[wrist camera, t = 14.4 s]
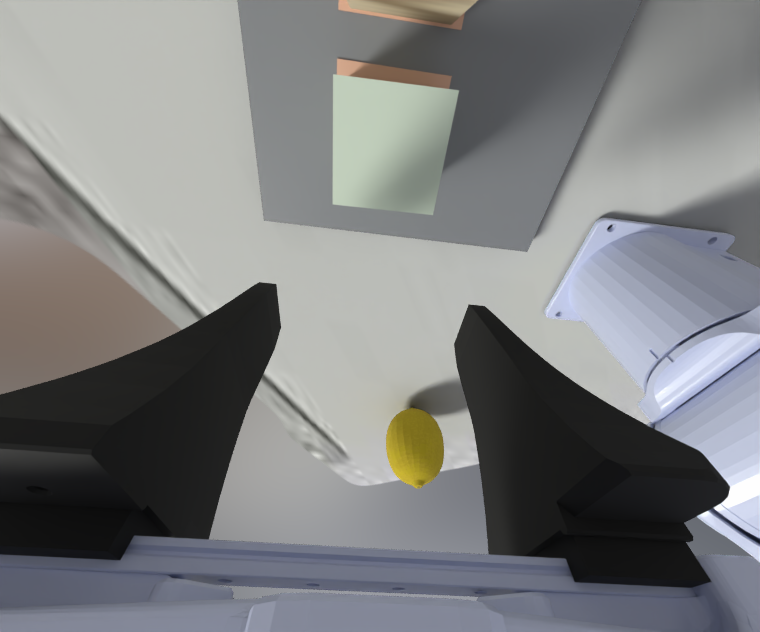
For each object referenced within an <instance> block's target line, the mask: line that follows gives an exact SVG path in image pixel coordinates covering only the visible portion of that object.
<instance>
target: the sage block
mask: <svg viewBox="0 0 760 632" xmlns="http://www.w3.org/2000/svg"><path fill="white" fill-rule="evenodd" d="M458 93H459V90H452V89H444V88H437V87H429V86H421V85H413V84H406V83H398V82H390V81H382V80H374V79H367V78H359V77H351V76H343V75H336V74H333V205H342V206H352V207H361V208H371V209H380V210H389V211H399V212H408V213H418V214H427V215H433V212H434V208H435V203H436V198H437V193H438V189H439V184H440V179H441V174H442V170H443V165H444V160H445V155H446V151H447V146H448V141H449V136H450V131H451V127H452V122H453V117H454V112H455V108H456V103H457V98H458Z"/></svg>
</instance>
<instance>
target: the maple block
mask: <svg viewBox="0 0 760 632" xmlns="http://www.w3.org/2000/svg"><path fill="white" fill-rule="evenodd" d="M477 1H478V0H347V2H348V4H349V6H350V8H351V9H357V10H363V11H369V12H375V13H381V14H388V15H394V16H400V17H406V18H412V19H418V20H424V21H430V22H436V23H442V24H448V25H452V24H453V23H454V22H455V21H456V20H457V19H458V18H459V17H460V16H461V15H463V14H464V13H465V12H466V11H467V10H468V9H469V8H470V7H471V6H472V5H473V4H475V3H476V2H477Z"/></svg>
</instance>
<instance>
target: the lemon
mask: <svg viewBox="0 0 760 632" xmlns="http://www.w3.org/2000/svg"><path fill="white" fill-rule="evenodd" d="M386 450H387V456H388V460H389V463H390V466H391V468H392V470H393V472H394V473H395V475H396V476H397V477H398V478H399V479H401V480H402V481H403V482H405V483H407V484H410V485H413V486H414V487H415V488H421V487H422V486H423V485H425V484H427V483H429V482H431V481H432V480H433V479H434V478H435V477H436V476H437V475H438V473H439V472H440V469H441V467H442V464H443V458H444V443H443V437H442V433H441V430H440V428H439V426H438V424H437V422H436V421H435V419H434V418H433V417H432V416H431V415H429V414H428V413H427V412H425V411H423V410H419V409H415V408H409V409H407V410H404V411H401V412H400V413H398V414H397V415H396V416H395V417H394V418H393V420H392V421H391V423H390V425H389V428H388V431H387V436H386Z"/></svg>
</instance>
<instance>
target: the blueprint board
mask: <svg viewBox="0 0 760 632" xmlns="http://www.w3.org/2000/svg"><path fill="white" fill-rule="evenodd" d="M641 1H642V0H478V1H477V2H476V3H475V4H473V5H472V6H471V7H470V8H469V9H468V10H467V11H466V12H465V13H464V14H463V15H461V16H460V17H459V18H458V19H457V20H456V21H455V22H454V23H453V24H452V25H448V24H442V23H436V22H430V21H424V20H418V19H412V18H406V17H400V16H394V15H388V14H381V13H375V12H369V11H363V10H357V9H351V8H350V6H349V4H348V2H347V0H238V9H239V17H240V25H241V33H242V42H243V50H244V58H245V67H246V75H247V83H248V92H249V100H250V108H251V117H252V125H253V133H254V142H255V150H256V158H257V167H258V175H259V183H260V191H261V200H262V208H263V216H264V221H272V222H280V223H289V224H297V225H305V226H314V227H322V228H331V229H339V230H348V231H356V232H364V233H373V234H381V235H390V236H398V237H406V238H415V239H423V240H432V241H440V242H448V243H457V244H465V245H474V246H482V247H491V248H499V249H507V250H516V251H524V252H527V251H528V249H529V247H530V245H531V243H532V240H533V238H534V236H535V234H536V232H537V229H538V227H539V225H540V223H541V221H542V218H543V216H544V214H545V212H546V210H547V207H548V205H549V203H550V201H551V199H552V196H553V194H554V192H555V190H556V188H557V185H558V183H559V181H560V179H561V177H562V174H563V172H564V170H565V168H566V166H567V164H568V161H569V159H570V157H571V155H572V153H573V150H574V148H575V146H576V144H577V142H578V139H579V137H580V135H581V133H582V131H583V128H584V126H585V124H586V122H587V120H588V117H589V115H590V113H591V111H592V109H593V106H594V104H595V102H596V100H597V98H598V95H599V93H600V91H601V89H602V87H603V84H604V82H605V80H606V78H607V76H608V73H609V71H610V69H611V67H612V65H613V62H614V60H615V58H616V56H617V54H618V51H619V49H620V47H621V45H622V43H623V41H624V38H625V36H626V34H627V32H628V30H629V27H630V25H631V23H632V21H633V19H634V16H635V14H636V12H637V10H638V8H639V5H640V3H641ZM333 74H336V75H343V76H351V77H359V78H367V79H374V80H382V81H390V82H398V83H406V84H413V85H421V86H429V87H437V88H444V89H452V90H459V93H458V98H457V103H456V108H455V112H454V117H453V122H452V127H451V131H450V136H449V141H448V146H447V151H446V155H445V160H444V165H443V170H442V174H441V179H440V184H439V189H438V193H437V198H436V203H435V208H434V212H433V215H427V214H418V213H408V212H399V211H389V210H380V209H371V208H361V207H352V206H342V205H333Z"/></svg>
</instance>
